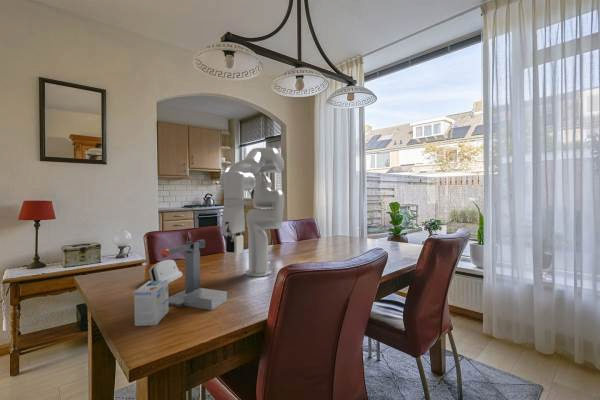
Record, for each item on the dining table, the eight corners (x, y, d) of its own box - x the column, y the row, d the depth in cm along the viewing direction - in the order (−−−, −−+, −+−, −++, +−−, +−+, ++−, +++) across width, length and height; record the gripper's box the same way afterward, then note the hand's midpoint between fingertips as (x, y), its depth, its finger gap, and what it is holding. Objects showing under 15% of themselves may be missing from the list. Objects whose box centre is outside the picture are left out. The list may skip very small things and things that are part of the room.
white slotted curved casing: (162, 286, 128) (155, 263, 128) (153, 289, 128) (145, 267, 129) (183, 275, 144) (176, 255, 145) (174, 278, 145) (167, 258, 145)
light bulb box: (148, 312, 100) (148, 280, 100) (169, 311, 101) (169, 279, 101) (133, 326, 90) (133, 290, 89) (157, 325, 90) (156, 290, 90)
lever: (199, 246, 127) (199, 239, 127) (206, 247, 126) (206, 239, 125) (157, 258, 105) (157, 248, 105) (164, 258, 104) (164, 249, 104)
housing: (232, 251, 119) (232, 231, 119) (243, 252, 117) (243, 232, 117) (225, 253, 114) (225, 233, 114) (236, 254, 112) (236, 234, 112)
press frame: (192, 289, 124) (191, 240, 123) (236, 295, 117) (236, 243, 116) (159, 303, 108) (159, 248, 107) (208, 311, 101) (208, 252, 100)
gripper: (237, 202, 125) (237, 246, 125) (212, 204, 108) (212, 254, 109) (253, 203, 122) (253, 247, 122) (230, 204, 106) (230, 255, 106)
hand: (234, 250), depth 116 cm, fingers closed on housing, 5 cm apart
